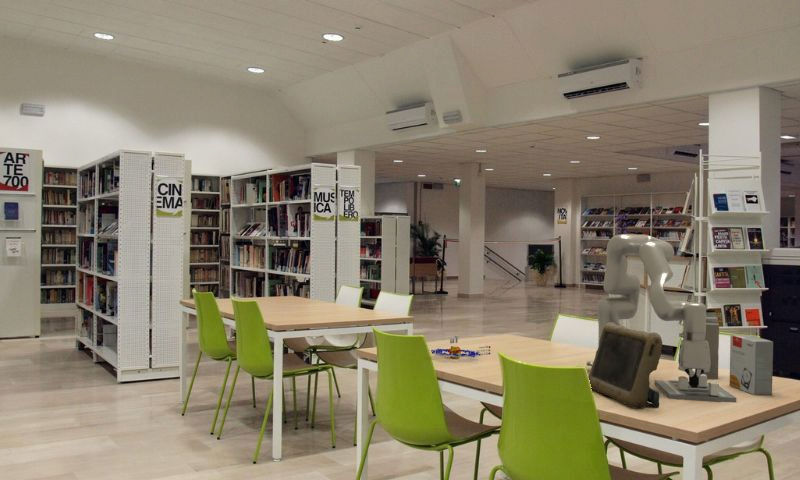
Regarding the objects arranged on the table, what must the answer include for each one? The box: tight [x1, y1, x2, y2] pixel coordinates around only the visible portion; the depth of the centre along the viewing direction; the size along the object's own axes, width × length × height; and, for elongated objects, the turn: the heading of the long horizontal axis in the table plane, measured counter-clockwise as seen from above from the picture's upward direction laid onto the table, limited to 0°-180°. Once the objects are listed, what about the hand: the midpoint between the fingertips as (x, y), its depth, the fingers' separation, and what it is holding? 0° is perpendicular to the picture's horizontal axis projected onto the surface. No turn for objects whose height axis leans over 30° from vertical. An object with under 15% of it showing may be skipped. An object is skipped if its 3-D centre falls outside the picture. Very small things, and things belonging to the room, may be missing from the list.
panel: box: [654, 379, 737, 403], centre depth 240 cm, size 22×25×2 cm
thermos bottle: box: [703, 308, 720, 380], centre depth 270 cm, size 8×8×28 cm
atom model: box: [428, 335, 492, 360], centre depth 304 cm, size 35×26×10 cm
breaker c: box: [698, 374, 708, 387], centre depth 243 cm, size 3×3×4 cm
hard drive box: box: [729, 334, 774, 396], centre depth 246 cm, size 16×8×20 cm, turn 5°
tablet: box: [588, 322, 663, 410], centre depth 231 cm, size 33×14×25 cm, turn 16°
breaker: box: [708, 381, 720, 396], centre depth 229 cm, size 3×3×4 cm
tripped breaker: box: [677, 375, 689, 390], centre depth 238 cm, size 3×3×4 cm
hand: (693, 387), depth 237 cm, fingers closed
